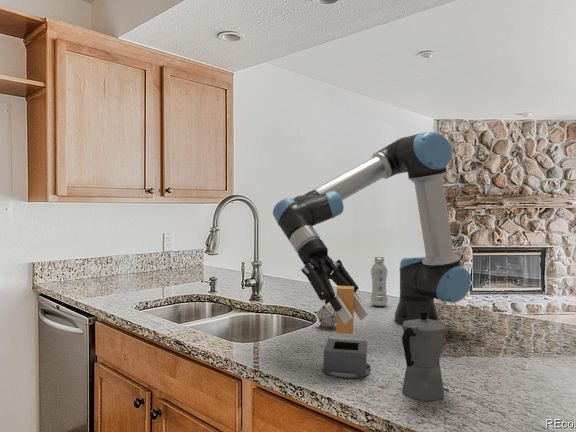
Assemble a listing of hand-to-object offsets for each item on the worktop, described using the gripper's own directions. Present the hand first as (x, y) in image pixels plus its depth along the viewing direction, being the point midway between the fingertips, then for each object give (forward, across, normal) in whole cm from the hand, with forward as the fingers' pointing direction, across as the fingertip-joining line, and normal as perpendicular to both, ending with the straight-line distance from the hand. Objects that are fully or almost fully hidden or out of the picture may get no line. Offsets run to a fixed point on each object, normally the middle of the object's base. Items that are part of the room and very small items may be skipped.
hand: (356, 318), depth 108 cm
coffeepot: (+22, -1, +2) cm, 22 cm away
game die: (-13, -26, -32) cm, 44 cm away
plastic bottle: (-18, -66, -37) cm, 78 cm away
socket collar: (+7, 0, -12) cm, 14 cm away
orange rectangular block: (0, 0, -5) cm, 5 cm away
